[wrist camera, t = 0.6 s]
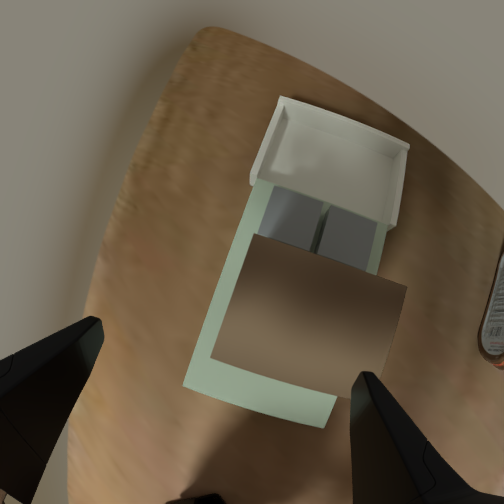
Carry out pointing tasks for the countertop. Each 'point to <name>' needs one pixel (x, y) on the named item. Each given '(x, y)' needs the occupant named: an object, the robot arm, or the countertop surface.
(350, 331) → the walnut push block
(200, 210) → the countertop surface
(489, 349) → the tin
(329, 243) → the slate tile
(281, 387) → the sage board
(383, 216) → the cream tray
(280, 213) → the slate tile
